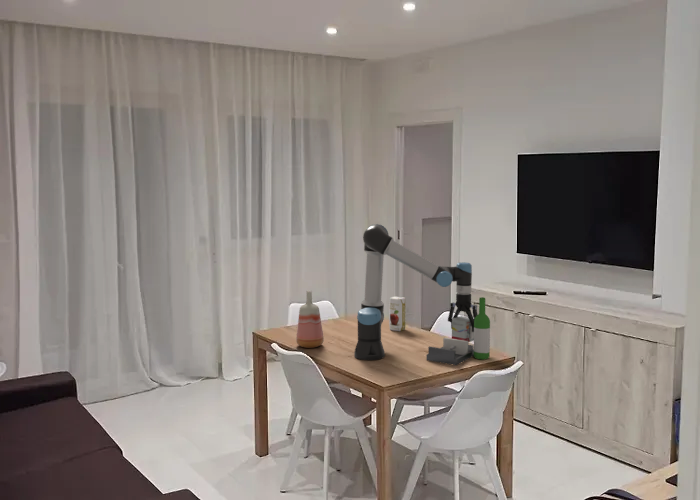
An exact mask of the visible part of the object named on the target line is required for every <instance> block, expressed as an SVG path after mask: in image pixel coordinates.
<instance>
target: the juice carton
mask: <svg viewBox="0 0 700 500" xmlns="http://www.w3.org/2000/svg"><path fill="white" fill-rule="evenodd" d="M406 303H407V302H406V297H405V296H404V297H402V296H401V297H400V296H397V295H394V296H391V297H389V303H388V304H389V305H388V313H389V314H388V317H389V318H388V323H389V324H388V325H389V330H390V331H394V332H402V331H405V329H406V325H407V323H406V321H407V319H406V318H407V316H406V314H407V311H406V309H407V308H406Z"/></svg>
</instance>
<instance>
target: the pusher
mask: <svg viewBox="0 0 700 500" xmlns="http://www.w3.org/2000/svg"><path fill="white" fill-rule="evenodd" d="M442 341H443V344H442V345H443V346H442V347H443V349H448V350H455V351H456V354H460V355H464V354H466V353H468V345H469V342H468V341H463V340H457V339H452V338H450V337H443V340H442Z"/></svg>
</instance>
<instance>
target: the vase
mask: <svg viewBox="0 0 700 500" xmlns="http://www.w3.org/2000/svg"><path fill="white" fill-rule="evenodd" d="M312 293H313V291H312V290H306V303H305V304H303V305H301V306H300V307H299V311H298V321H297V328H296V338H295V339H296V344H297V345H298V346H299V347H302V348H305V349H313V348H317V347H320V346H322V345H323V344H324V341H325V338H324V337H325V335H324V330H323V325H322V318H321V313H320V307H319V306H318V305H316V304H314V303H313V296H312V295H313V294H312Z"/></svg>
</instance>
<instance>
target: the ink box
mask: <svg viewBox="0 0 700 500" xmlns="http://www.w3.org/2000/svg"><path fill="white" fill-rule="evenodd" d="M470 326H471V322H470V320H469V318H468V316H463V315H458V317H456V318H453V317H452V329H451V339H457V340H463V341H468V343H471V342H474V338H472V339H470Z"/></svg>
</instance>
